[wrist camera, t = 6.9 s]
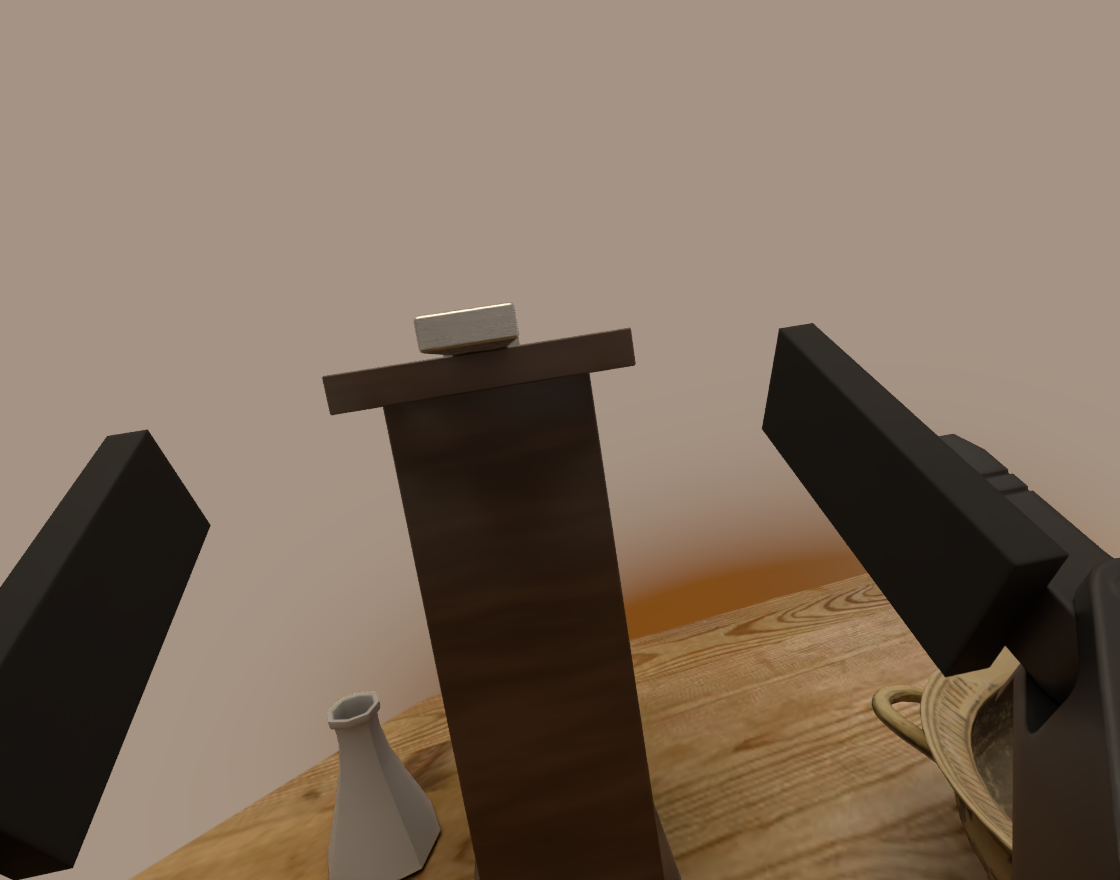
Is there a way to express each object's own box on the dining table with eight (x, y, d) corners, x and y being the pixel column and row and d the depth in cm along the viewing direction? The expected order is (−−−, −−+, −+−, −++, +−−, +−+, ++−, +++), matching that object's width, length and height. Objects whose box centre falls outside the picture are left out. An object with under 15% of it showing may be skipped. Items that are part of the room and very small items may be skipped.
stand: (718, 965, 28) (631, 327, 23) (465, 1031, 27) (321, 376, 22) (636, 746, 44) (575, 339, 39) (475, 782, 42) (392, 368, 38)
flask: (445, 792, 42) (418, 663, 40) (436, 882, 35) (402, 729, 33) (342, 815, 41) (311, 685, 40) (311, 911, 34) (271, 757, 33)
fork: (550, 333, 13) (542, 277, 13) (386, 359, 13) (375, 302, 12) (513, 349, 37) (510, 329, 36) (455, 358, 36) (452, 338, 36)
